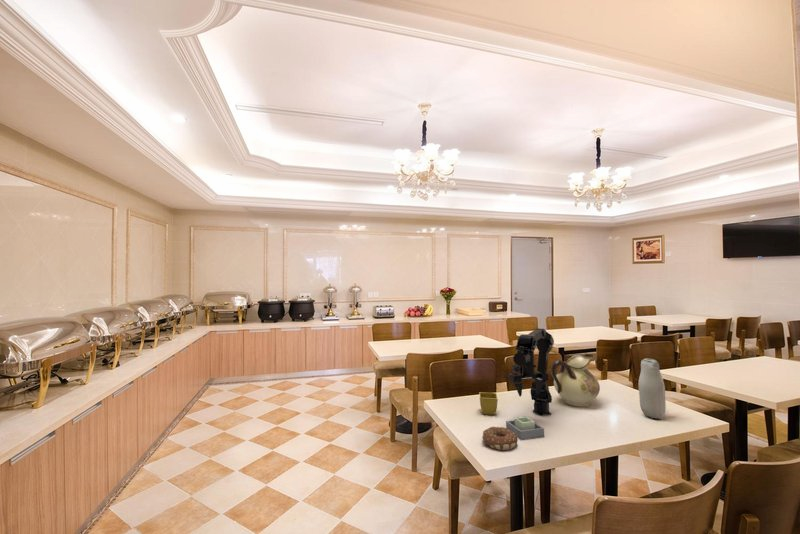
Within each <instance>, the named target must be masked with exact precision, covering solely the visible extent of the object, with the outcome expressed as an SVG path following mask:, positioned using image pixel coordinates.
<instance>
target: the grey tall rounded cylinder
mask: <svg viewBox="0 0 800 534" xmlns="http://www.w3.org/2000/svg"><path fill="white" fill-rule="evenodd" d="M661 373H662V372H661V370H660V363H659V362H658V361H657V360H656V359H653V358H648V357H647V358H643V359H642V360H641V361H640V374H639V378H638V384H637V385H638V394H639V397H638V398H639V407H640V410H641V411H642V413H643V414H644V415H646V416H647V417H649V418H653V419H661V418H663V417H664V416H665V414H666V409H667V405H666V387H665V382H664V379H663V376H662V374H661Z"/></svg>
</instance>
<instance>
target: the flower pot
mask: <svg viewBox="0 0 800 534" xmlns="http://www.w3.org/2000/svg"><path fill="white" fill-rule="evenodd" d="M478 393H479V403H480V404H479V405H480V410H481V412H482V414H483V415H490V416H495V414H496V412H497V409H498V400H499V399H498V394H497V393H496V392H483V391H480V392H478Z"/></svg>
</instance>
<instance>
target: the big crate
mask: <svg viewBox="0 0 800 534" xmlns="http://www.w3.org/2000/svg"><path fill="white" fill-rule="evenodd" d="M505 426H506V427H505V428H506V429H509V430H510V431H512V432H514V434H515V435H516V436H517V439H519V440H520V441H524V440H531V439H532V440H533V439H537V438H538V439H539V438H545V428H544V427H542V426H541V425H540V424H538V423H536V422H535V429H530V430H523V431H521V430H519V429H518V428H517V427H515V419H513V420H512V419H511V420H506V421H505Z"/></svg>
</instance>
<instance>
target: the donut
mask: <svg viewBox="0 0 800 534" xmlns="http://www.w3.org/2000/svg"><path fill="white" fill-rule="evenodd" d="M481 438H482V439H483V442H484V443H485V444H486V446H488V447H490V448H492V449H495V450H499V451H508V450H511V449H513V448H514V447H516V446H518V439H519V438H517V436H516V435H515V434H514V432H512V431H510V430H509V429H506V427H504V426H491V427H489V428H486V429H484V430H483V432H482V437H481Z"/></svg>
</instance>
